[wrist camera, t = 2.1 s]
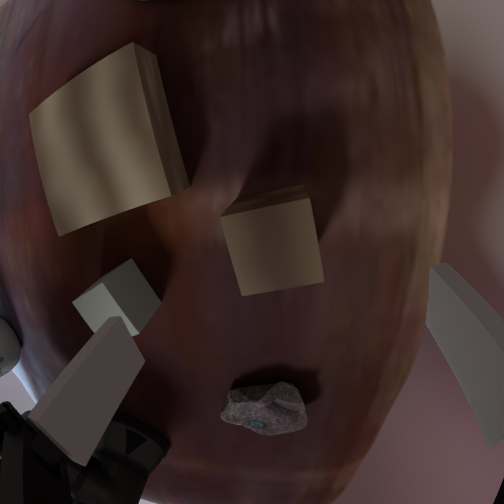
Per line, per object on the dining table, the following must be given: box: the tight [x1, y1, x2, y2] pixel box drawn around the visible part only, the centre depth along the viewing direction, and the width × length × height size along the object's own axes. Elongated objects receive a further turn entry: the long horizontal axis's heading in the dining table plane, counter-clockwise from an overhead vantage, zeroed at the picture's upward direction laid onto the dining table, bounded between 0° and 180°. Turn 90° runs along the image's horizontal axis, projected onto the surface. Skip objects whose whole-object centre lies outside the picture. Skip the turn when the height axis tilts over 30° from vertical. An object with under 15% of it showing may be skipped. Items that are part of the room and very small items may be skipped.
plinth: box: [29, 42, 190, 236], centre depth 22 cm, size 14×14×5 cm
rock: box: [221, 381, 307, 436], centre depth 32 cm, size 8×11×5 cm
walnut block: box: [219, 184, 324, 296], centre depth 22 cm, size 6×6×7 cm
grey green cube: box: [72, 258, 162, 336], centre depth 27 cm, size 6×6×6 cm
